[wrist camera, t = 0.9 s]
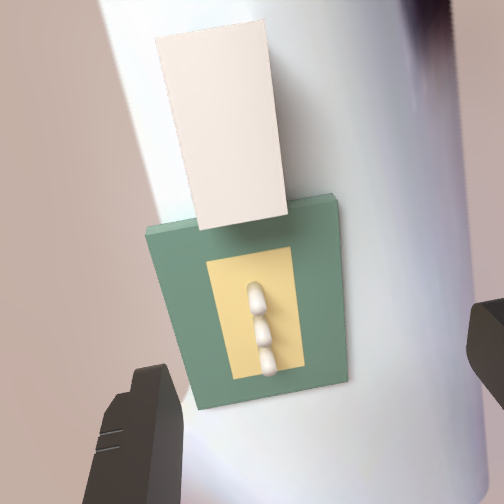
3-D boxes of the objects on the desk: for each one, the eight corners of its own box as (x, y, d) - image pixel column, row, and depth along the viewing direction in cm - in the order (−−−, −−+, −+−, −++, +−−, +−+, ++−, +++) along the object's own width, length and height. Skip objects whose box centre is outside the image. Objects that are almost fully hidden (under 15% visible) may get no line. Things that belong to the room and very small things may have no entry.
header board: (147, 226, 31) (139, 254, 27) (331, 193, 31) (350, 216, 27) (198, 397, 40) (197, 438, 36) (343, 369, 40) (358, 407, 36)
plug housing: (166, 37, 26) (154, 38, 19) (249, 22, 26) (264, 19, 20) (200, 190, 30) (199, 230, 24) (270, 177, 30) (288, 214, 24)
